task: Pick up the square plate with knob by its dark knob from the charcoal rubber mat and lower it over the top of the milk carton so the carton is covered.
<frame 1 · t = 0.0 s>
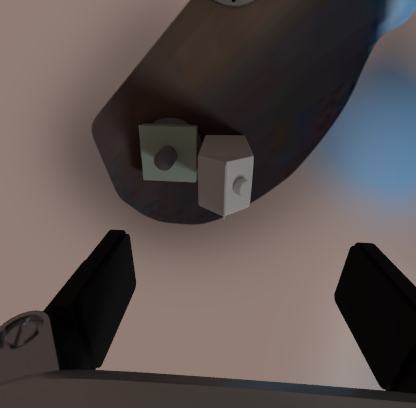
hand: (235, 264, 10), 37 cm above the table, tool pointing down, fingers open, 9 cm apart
square plate with knob: (171, 151, 45), point 1 cm above the table, touching mat
milk carton: (224, 153, 46), on the table
mat: (171, 150, 46), on the table
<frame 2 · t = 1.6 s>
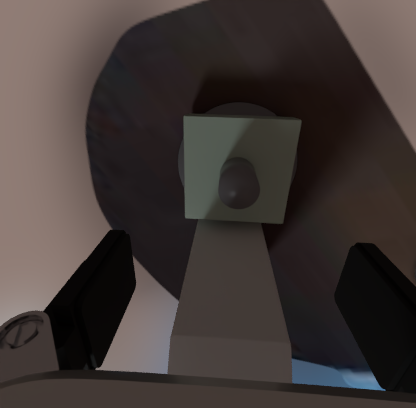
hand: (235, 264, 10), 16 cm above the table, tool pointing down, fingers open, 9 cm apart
square plate with knob: (236, 166, 24), point 1 cm above the table, touching mat
milk carton: (228, 243, 29), on the table
mat: (236, 164, 25), on the table
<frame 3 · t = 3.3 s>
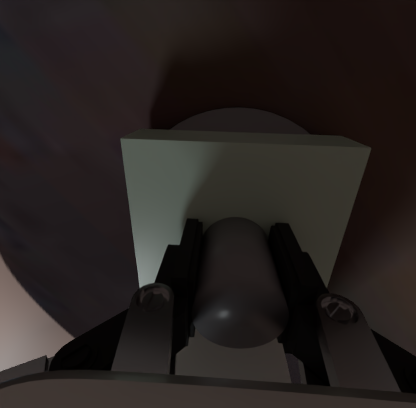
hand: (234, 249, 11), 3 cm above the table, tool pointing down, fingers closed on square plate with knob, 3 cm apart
square plate with knob: (232, 219, 14), point 1 cm above the table, touching gripper, mat
milk carton: (220, 324, 19), on the table
mat: (232, 214, 14), on the table
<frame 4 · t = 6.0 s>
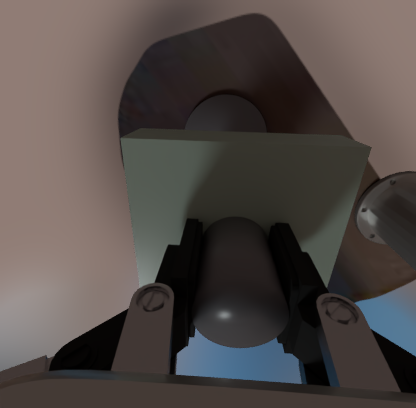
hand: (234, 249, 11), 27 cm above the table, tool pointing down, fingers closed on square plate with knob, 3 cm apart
square plate with knob: (232, 219, 14), point 24 cm above the table, touching gripper
mat: (225, 139, 36), on the table
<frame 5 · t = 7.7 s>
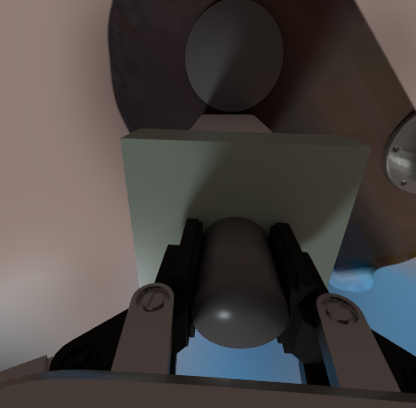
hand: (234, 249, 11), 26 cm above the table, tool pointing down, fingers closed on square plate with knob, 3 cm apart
square plate with knob: (232, 219, 14), point 23 cm above the table, touching gripper
milk carton: (226, 140, 35), on the table
mat: (233, 60, 30), on the table
when the fingers open (21 cm above the table, at t = 8.9 s): square plate with knob drops 1 cm, resting on milk carton.
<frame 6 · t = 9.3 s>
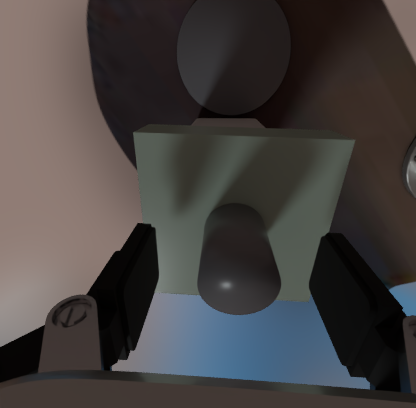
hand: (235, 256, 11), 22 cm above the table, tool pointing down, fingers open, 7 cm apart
square plate with knob: (232, 208, 15), point 17 cm above the table, touching milk carton
milk carton: (225, 147, 31), on the table, touching square plate with knob
mat: (232, 56, 26), on the table
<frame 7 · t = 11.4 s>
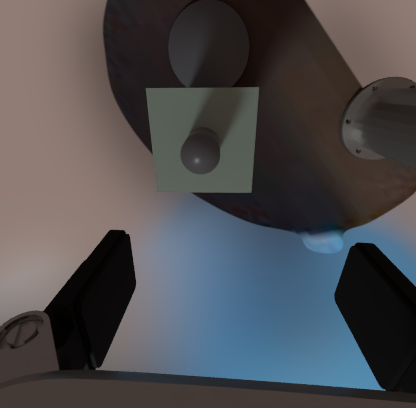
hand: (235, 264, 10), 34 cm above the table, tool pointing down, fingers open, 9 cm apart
square plate with knob: (204, 139, 25), point 17 cm above the table, touching milk carton
mat: (208, 51, 36), on the table
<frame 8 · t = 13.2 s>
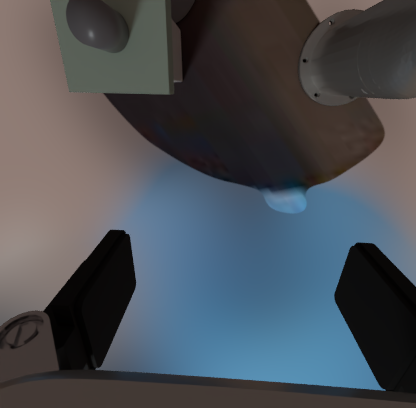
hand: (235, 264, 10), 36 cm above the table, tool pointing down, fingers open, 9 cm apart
square plate with knob: (122, 37, 23), point 17 cm above the table, touching milk carton
milk carton: (160, 57, 39), on the table, touching square plate with knob
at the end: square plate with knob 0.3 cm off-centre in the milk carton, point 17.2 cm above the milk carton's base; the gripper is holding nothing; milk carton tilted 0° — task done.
